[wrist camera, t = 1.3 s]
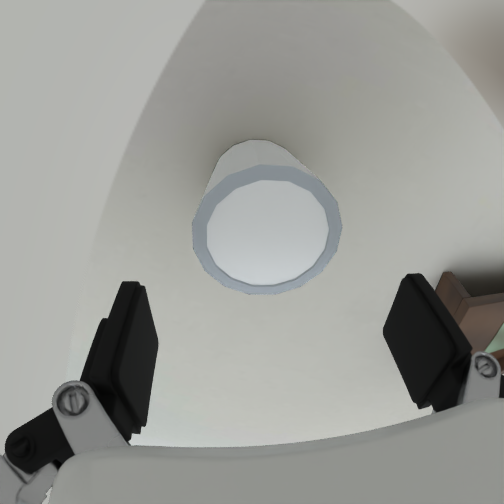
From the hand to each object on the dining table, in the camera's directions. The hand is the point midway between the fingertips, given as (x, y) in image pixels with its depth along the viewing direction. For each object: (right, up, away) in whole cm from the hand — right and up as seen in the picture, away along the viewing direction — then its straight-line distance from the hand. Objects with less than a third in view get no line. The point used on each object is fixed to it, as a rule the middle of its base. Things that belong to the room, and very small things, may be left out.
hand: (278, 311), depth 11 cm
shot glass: (-1, +7, +9) cm, 11 cm away
